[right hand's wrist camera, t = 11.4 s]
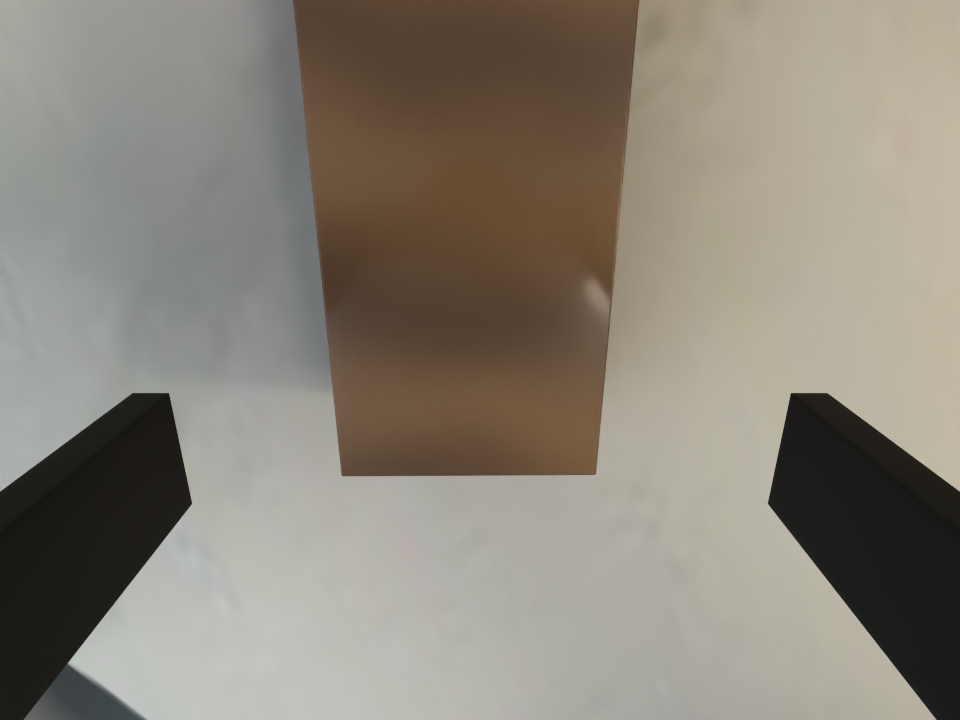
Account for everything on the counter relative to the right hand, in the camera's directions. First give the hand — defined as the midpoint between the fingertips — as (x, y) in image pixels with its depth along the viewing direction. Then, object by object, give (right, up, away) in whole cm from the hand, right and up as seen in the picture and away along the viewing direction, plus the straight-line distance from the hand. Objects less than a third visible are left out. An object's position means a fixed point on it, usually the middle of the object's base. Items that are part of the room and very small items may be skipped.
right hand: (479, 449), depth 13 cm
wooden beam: (0, +27, +4) cm, 27 cm away
